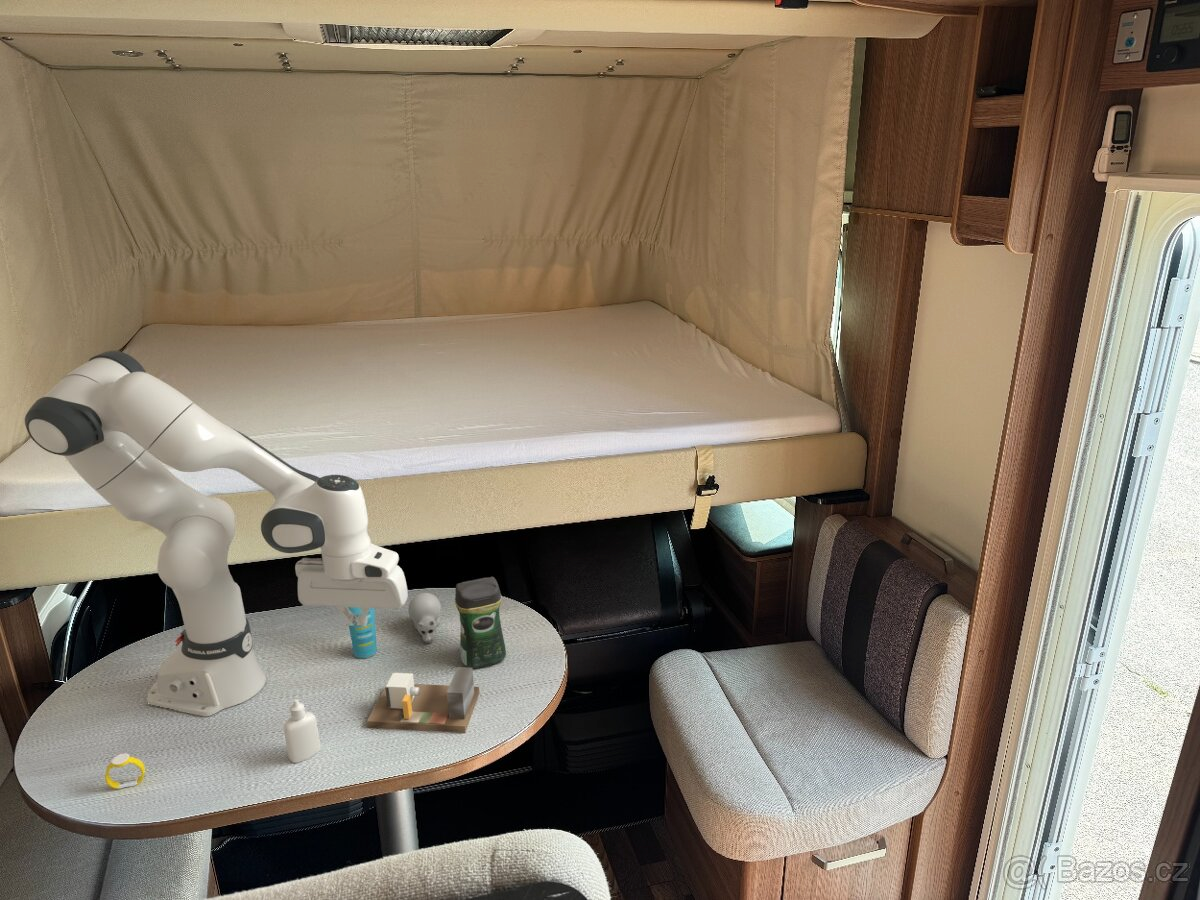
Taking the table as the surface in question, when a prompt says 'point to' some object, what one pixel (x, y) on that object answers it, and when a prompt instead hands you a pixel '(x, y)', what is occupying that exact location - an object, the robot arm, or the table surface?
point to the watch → (122, 761)
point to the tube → (363, 635)
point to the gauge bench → (432, 707)
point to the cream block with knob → (400, 690)
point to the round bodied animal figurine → (425, 615)
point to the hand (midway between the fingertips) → (357, 624)
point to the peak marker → (407, 706)
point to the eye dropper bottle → (301, 734)
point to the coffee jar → (480, 622)
